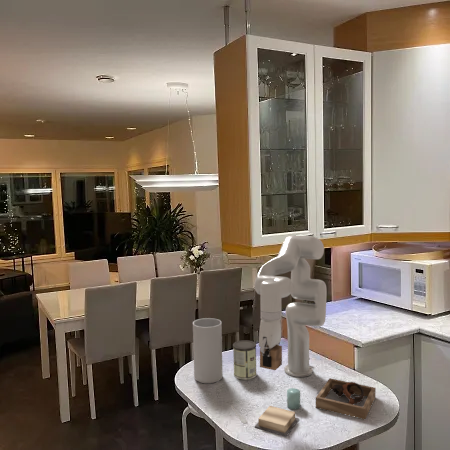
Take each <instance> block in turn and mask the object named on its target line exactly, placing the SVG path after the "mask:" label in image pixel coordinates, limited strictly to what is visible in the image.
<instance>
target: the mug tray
mask: <svg viewBox="0 0 450 450" xmlns="http://www.w3.org/2000/svg"><path fill="white" fill-rule="evenodd" d="M349 382H350V381H346V380H345V381H344V380H339V379H335V378H331V377H329V378H328V380H327V381H326V383H325V384H324V385H323V387H322V388H321V390H319V392H318V394H317V395H316V396H315V408H316V409H319V408H321V409H320V410H323V409H324V411H327V410H328V411H327V412H333V413H336V414H340V413H341V414H340V415H344V414H346V415H345V416H348V415H350V416H349V417H352V416H355V417H354V418H356V417H358V418H357V419H360V418H362V419H361V420H364V419H367V417H368V415H369V413H370V411H369V410H371V408H372V406H373V404H372V403H374V402H373V401H375V400H376V393H377V391H376V387H374V386H373V387H372V386H370V385H369V386H368V385H365V384H359V385H360V386H361V387H362V388H363V390H364V397H365V396H367V397H366V399H365V402H364V404H363V405H361V406H360V405H358V404H353V405H352V404H348V402H343V401H338V400H336V399H335V400H334V399H332V398H331V399H330V398H327V397H328V395H329V394H330V393H331V391H332V390H333V389H332V387H333V386H334V385H335V384H339V385H342V386H343V385H344V384H347V383H349ZM350 389H351V390H353V391H354V393H353V395H355V394H356V395H357V396H360V395H361V390H360V389H359V388H358V387H357V386H355V385H354V386H351V388H350ZM337 390H338V389H337ZM338 391H339V390H338ZM356 395H355V396H356ZM371 405H372V406H371ZM368 412H369V413H368Z"/></svg>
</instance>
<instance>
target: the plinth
mask: <svg viewBox="0 0 450 450" xmlns="http://www.w3.org/2000/svg"><path fill="white" fill-rule="evenodd" d="M299 420H300V418H298V417H296V411H292V410H288V409H284V408H281V407H277V406H273V405H269V406H268V407H267V408H266V409H265V410H264V412H262V414H261V415H260V416H259V418H258V422H256V424H255V425H254V428H256V429H259V430H263V431H266V432H270V433H274V434H277V435H280V436H284V437H287V436H288V435H289V434H290V433H291V431H292V430H293V428H294V427H295V426H296V424H297V423H298V422H299Z"/></svg>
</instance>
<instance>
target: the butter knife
mask: <svg viewBox="0 0 450 450" xmlns="http://www.w3.org/2000/svg"><path fill="white" fill-rule="evenodd" d="M230 408H231V409H232V410H233V411H234V413H235V414H236V416H237V419H239V420H240V422H241V423H243V424H247V423H248V420H247V418H245V416H244V415H243V414H242V413H241V412H240V411H239V410H238V409H237V408H235V406H234V405H231V406H230Z"/></svg>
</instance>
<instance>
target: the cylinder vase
mask: <svg viewBox="0 0 450 450" xmlns="http://www.w3.org/2000/svg"><path fill="white" fill-rule="evenodd" d="M222 332H223V330H222V321H221V319H217V318H211V317H208V318H207V317H205V318H204V317H203V318H199V319H195V320H194V321H192V337H193V338H192V342H193V346H192V347H193V348H192V349H193V373H194V374H193V375H194V376H193V377H194V379H195V381H196V382H198V383H202V384H214V383H217V382H219V381H220V380H222V379H223V374H224V373H223V372H224V371H223V342H222V341H223V335H222V334H223V333H222Z"/></svg>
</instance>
